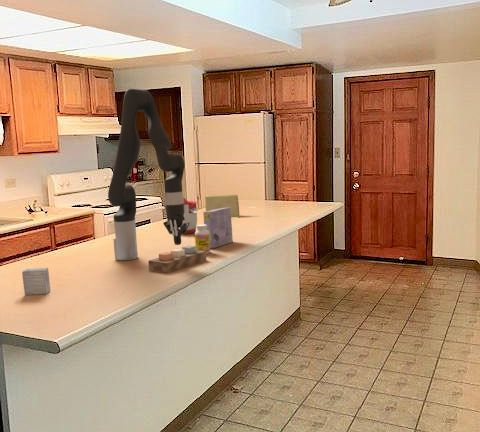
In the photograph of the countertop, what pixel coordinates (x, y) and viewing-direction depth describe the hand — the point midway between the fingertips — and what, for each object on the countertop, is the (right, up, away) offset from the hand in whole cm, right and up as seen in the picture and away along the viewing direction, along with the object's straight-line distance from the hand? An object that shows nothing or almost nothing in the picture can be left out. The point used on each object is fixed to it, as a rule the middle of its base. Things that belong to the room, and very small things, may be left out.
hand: (177, 244), depth 223 cm
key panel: (0, -9, +1) cm, 9 cm away
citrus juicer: (-5, +2, +79) cm, 79 cm away
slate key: (+4, -5, +6) cm, 9 cm away
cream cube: (0, -6, +1) cm, 6 cm away
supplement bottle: (+9, -5, +23) cm, 26 cm away
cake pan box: (+16, -3, +40) cm, 43 cm away
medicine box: (-46, -16, -31) cm, 58 cm away
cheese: (+15, +11, +132) cm, 133 cm away
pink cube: (-4, -7, -5) cm, 9 cm away
